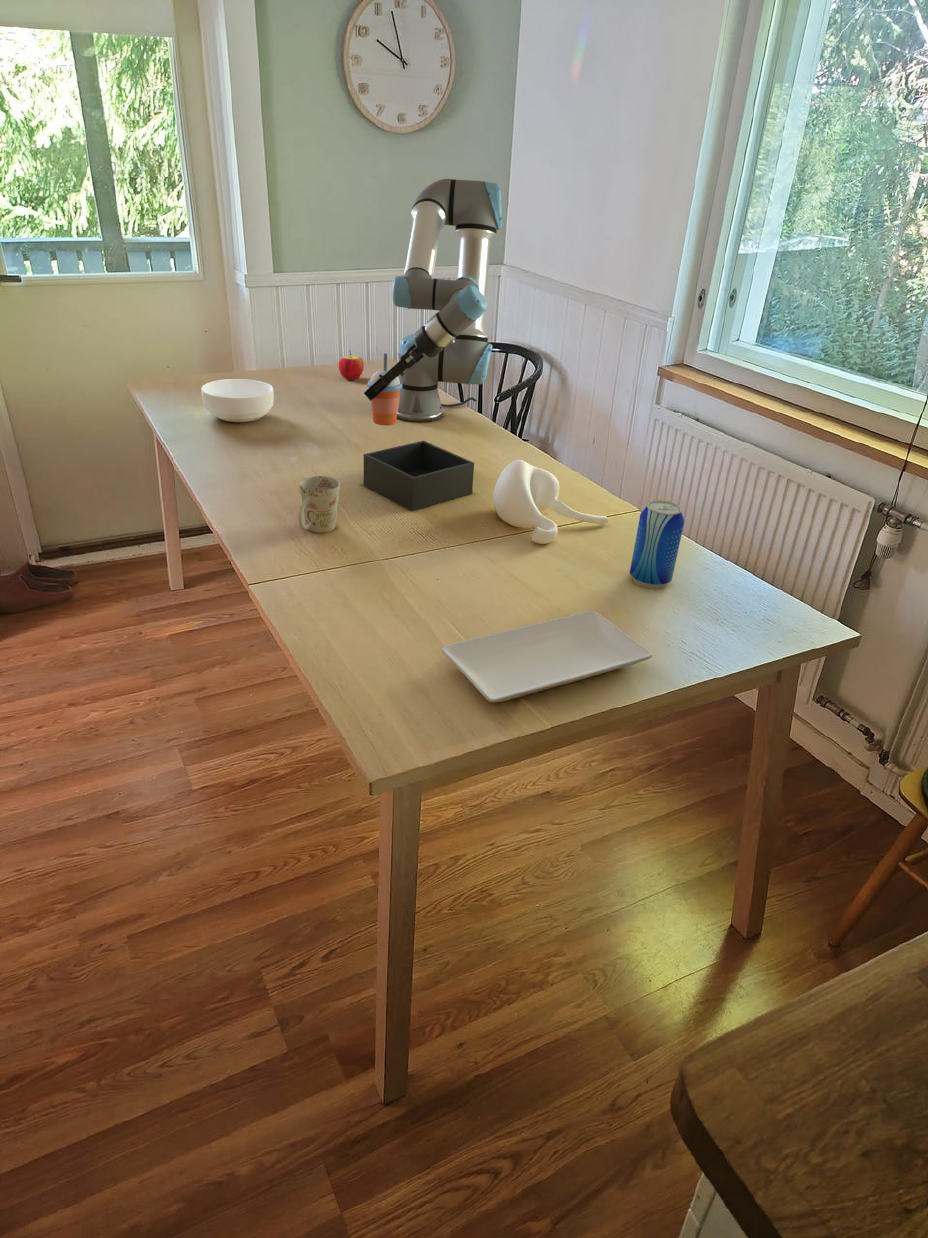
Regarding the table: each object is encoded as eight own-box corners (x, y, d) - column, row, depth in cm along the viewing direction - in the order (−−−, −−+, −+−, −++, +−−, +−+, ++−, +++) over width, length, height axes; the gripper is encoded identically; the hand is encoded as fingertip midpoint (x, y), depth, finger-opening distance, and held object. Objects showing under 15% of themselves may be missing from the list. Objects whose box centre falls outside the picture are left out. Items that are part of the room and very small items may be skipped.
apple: (335, 380, 279) (335, 350, 274) (342, 374, 286) (342, 344, 281) (359, 383, 278) (359, 352, 273) (366, 377, 285) (366, 347, 280)
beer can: (662, 595, 163) (678, 519, 155) (622, 582, 166) (635, 507, 158) (676, 579, 169) (692, 505, 161) (637, 567, 173) (651, 494, 165)
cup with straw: (404, 418, 229) (405, 351, 219) (398, 428, 221) (399, 359, 212) (371, 415, 229) (371, 348, 220) (364, 425, 221) (364, 356, 212)
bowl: (289, 417, 243) (288, 388, 238) (239, 433, 228) (237, 402, 224) (240, 403, 251) (238, 374, 247) (188, 417, 237) (185, 387, 232)
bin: (422, 470, 213) (423, 440, 209) (472, 493, 202) (474, 462, 198) (363, 485, 202) (363, 454, 198) (412, 510, 190) (413, 478, 186)
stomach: (515, 564, 180) (606, 559, 191) (535, 516, 171) (629, 513, 182) (475, 497, 194) (562, 495, 204) (492, 449, 185) (582, 450, 196)
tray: (437, 662, 138) (438, 644, 136) (591, 624, 152) (594, 607, 150) (489, 720, 125) (491, 701, 123) (652, 672, 139) (656, 655, 137)
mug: (347, 523, 182) (346, 480, 177) (320, 546, 172) (318, 500, 167) (312, 516, 184) (311, 473, 179) (284, 538, 174) (281, 493, 169)
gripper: (433, 358, 203) (370, 414, 213) (453, 339, 221) (394, 391, 232) (412, 333, 201) (350, 391, 211) (435, 316, 219) (376, 370, 230)
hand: (373, 391), depth 221 cm, fingers closed on cup with straw, 9 cm apart
